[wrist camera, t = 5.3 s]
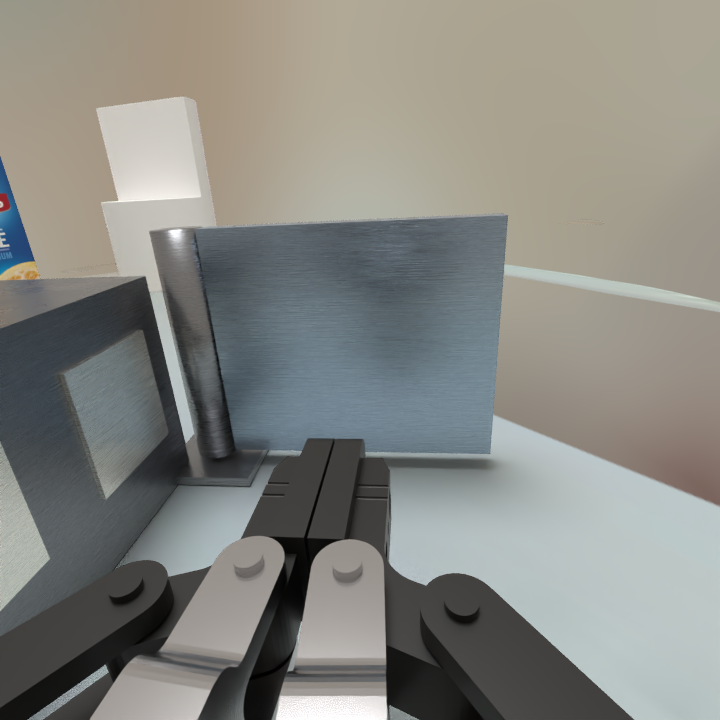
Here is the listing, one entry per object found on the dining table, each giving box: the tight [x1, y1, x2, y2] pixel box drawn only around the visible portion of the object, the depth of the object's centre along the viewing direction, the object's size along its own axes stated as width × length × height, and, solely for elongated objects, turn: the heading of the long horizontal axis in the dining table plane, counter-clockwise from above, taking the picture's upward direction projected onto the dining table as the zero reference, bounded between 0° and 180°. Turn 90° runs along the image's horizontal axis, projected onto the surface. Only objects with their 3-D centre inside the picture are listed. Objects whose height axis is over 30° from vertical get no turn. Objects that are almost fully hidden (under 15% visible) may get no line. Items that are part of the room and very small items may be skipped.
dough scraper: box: [149, 213, 508, 458], centre depth 22 cm, size 16×2×12 cm, turn 84°
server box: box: [0, 276, 268, 636], centre depth 17 cm, size 20×14×11 cm
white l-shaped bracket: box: [96, 96, 217, 292], centre depth 73 cm, size 17×17×28 cm
